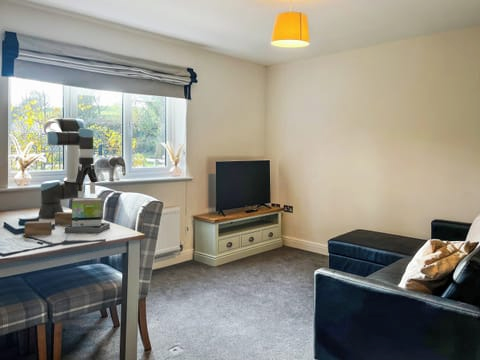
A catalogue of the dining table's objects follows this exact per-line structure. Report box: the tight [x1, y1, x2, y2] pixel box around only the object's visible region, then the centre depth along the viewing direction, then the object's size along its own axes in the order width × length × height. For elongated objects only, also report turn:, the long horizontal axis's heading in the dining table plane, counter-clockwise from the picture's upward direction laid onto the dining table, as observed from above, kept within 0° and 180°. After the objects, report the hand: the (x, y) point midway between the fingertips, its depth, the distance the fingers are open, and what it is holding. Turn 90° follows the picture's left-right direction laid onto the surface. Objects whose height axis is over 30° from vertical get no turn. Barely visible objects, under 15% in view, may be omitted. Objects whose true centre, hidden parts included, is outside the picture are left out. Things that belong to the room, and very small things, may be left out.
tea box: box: [71, 197, 102, 227], centre depth 215 cm, size 15×10×15 cm, turn 109°
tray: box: [64, 222, 111, 235], centre depth 215 cm, size 14×19×3 cm
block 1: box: [23, 220, 53, 238], centre depth 203 cm, size 4×12×7 cm, turn 106°
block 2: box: [54, 211, 72, 226], centre depth 231 cm, size 4×12×7 cm, turn 85°
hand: (87, 195), depth 214 cm, fingers open, 13 cm apart
